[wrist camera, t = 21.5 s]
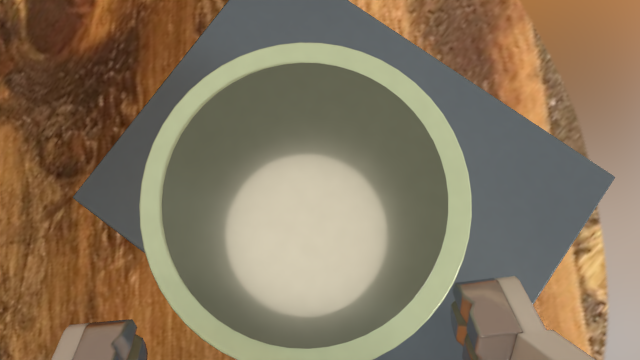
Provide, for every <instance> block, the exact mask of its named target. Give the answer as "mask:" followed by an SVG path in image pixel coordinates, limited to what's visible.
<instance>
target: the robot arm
mask: <svg viewBox="0 0 640 360" xmlns="http://www.w3.org/2000/svg"><path fill="white" fill-rule="evenodd" d="M453 295H454V298H455V301H454V302H453V303H452V304H451V311H450V314H451V324H452V328H453V332H454V335H455V338H456V341H457V342H459V343H460V344H461V345H462V346H463V353H462V358H463V360H595V359H594V358H593V357H591V356H590V355H588V354H587V353H585V352H584V351H582V350H581V349H580V348H578V347H577V346H575V345H574V344H572V343H571V342H570V341H568V340H567V339H565V338H564V337H562V336H561V335H559V334H558V333H557V332H555V331H554V330H546V328H545V326H544V325H543V323H542V321H541V319H540V317H539V315H538V314H537V312H536V310H535V308H534V306H533V304H532V303H531V301H530V299H529V297H528V295H527V294H526V292H525V290H524V288H523V286H522V284H521V283H520V281H519V279H518V278H517V277H515V276H511V277H502V278H495V279H494V278H490V279H482V280H474V281H466V282H458V283H455V284H454V286H453ZM136 329H137V326H136V325H135V323H134V321H133V320H119V321H107V322H95V323H85V324H75V325H69V326H68V327H67V328H66V329H65V330H64V332H63V334H62V337H61V339H60V341H59V343H58V346H57V348H56V350H55V352H54V355H53V357H52V359H51V360H147V348H146V344H145V342H144V340H143V338H141V337H139V336H138V335H136V334H135V333H136Z"/></svg>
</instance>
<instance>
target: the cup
mask: <svg viewBox="0 0 640 360" xmlns="http://www.w3.org/2000/svg"><path fill="white" fill-rule="evenodd" d="M139 210H140V229H141V235H142V240H143V246H144V250H145V254H146V257H147V260H148V263H149V266H150V269H151V272H152V274H153V276H154V278H155V280H156V282H157V284H158V286H159V289H160V290H161V292H162V293H163V295H164V297H165V298H166V300H167V301H168V303H169V304H170V306H171V307H172V309H173V310H174V311H175V312H176V313H177V315H178V316H179V317H180V318H181V319H182V320H183V322H184V323H185V324H186V325H187V326H188V327H189V328H190V329H191V330H193V331H194V332H195V333H196V334H197V335H198V336H199V337H200V338H202V339H203V340H204V341H206V342H207V343H209V344H210V345H212V346H213V347H214V348H216V349H217V350H219V351H220V352H222V353H224V354H226V355H228V356H230V357H232V358H234V359H236V360H374V359H376V358H378V357H380V356H381V355H383V354H385V353H387V352H389V351H390V350H392V349H394V348H396V347H397V346H398V345H400V344H401V343H402V342H404V341H405V340H406V339H408V338H409V337H410V336H412V335H413V334H414V333H415V332H416V331H417V330H418V329H419V328H420V327H421V326H422V325H423V324H424V323H425V322H426V321H428V320H429V319H430V317H431V316H432V315H433V314H434V312H435V311H436V310H437V308H438V307H439V306H440V304H441V303H442V302H443V301H444V299H445V297H446V296H447V294H448V292H449V290H450V289H451V287H452V285H453V283H454V282H455V280H456V277H457V275H458V272H459V270H460V267H461V265H462V262H463V260H464V256H465V252H466V249H467V245H468V241H469V236H470V227H471V219H472V194H471V187H470V180H469V173H468V170H467V166H466V163H465V159H464V155H463V152H462V150H461V147H460V145H459V143H458V140H457V138H456V136H455V133H454V132H453V130H452V128H451V126H450V125H449V123H448V121H447V120H446V118H445V116H444V115H443V113H442V112H441V111H440V109H439V108H438V107H437V106H436V104H435V103H434V102H433V100H432V99H431V98H430V97H429V96H428V95H427V94H426V93H425V92H424V91H423V90H422V89H421V88H420V87H419V86H418V85H417V84H416V83H415V82H413V81H412V80H411V79H410V78H408V77H407V76H406V75H404V74H403V73H402V72H400V71H399V70H397V69H396V68H394V67H392V66H391V65H389V64H387V63H385V62H384V61H382V60H380V59H378V58H375V57H373V56H371V55H368V54H366V53H363V52H361V51H357V50H354V49H350V48H347V47H343V46H338V45H331V44H324V43H290V44H280V45H276V46H271V47H267V48H262V49H259V50H256V51H253V52H250V53H248V54H245V55H242V56H240V57H238V58H236V59H234V60H232V61H230V62H228V63H226V64H224V65H222V66H220V67H219V68H217V69H216V70H214V71H213V72H211V73H210V74H209V75H207V76H206V77H204V78H203V79H202V80H201V81H200V82H198V83H197V84H196V85H195V86H194V87H193V88H192V89H190V90H189V91H188V92H187V93H186V95H185V96H184V97H183V98H182V99H181V100H180V101H179V103H178V104H177V105H176V106H175V107H174V109H173V110H172V111H171V113H170V114H169V116H168V117H167V119H166V120H165V122H164V123H163V125H162V127H161V129H160V131H159V133H158V134H157V136H156V138H155V140H154V142H153V145H152V148H151V150H150V153H149V156H148V159H147V161H146V165H145V169H144V174H143V178H142V183H141V192H140V204H139Z"/></svg>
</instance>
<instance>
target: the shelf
mask: <svg viewBox="0 0 640 360" xmlns="http://www.w3.org/2000/svg"><path fill="white" fill-rule="evenodd" d="M290 43H324V44H331V45H338V46H343V47H347V48H350V49H354V50H357V51H361V52H363V53H366V54H368V55H371V56H373V57H375V58H378V59H380V60H382V61H384V62H385V63H387V64H389V65H391V66H392V67H394V68H396V69H397V70H399V71H400V72H402V73H403V74H404V75H406V76H407V77H408V78H410V79H411V80H412V81H413V82H415V83H416V84H417V85H418V86H419V87H420V88H421V89H422V90H423V91H424V92H425V93H426V94H427V95H428V96H429V97H430V98H431V99H432V100H433V102H434V103H435V104H436V106H437V107H438V108H439V109H440V111H441V112H442V113H443V115H444V116H445V118H446V120H447V121H448V123H449V125H450V126H451V128H452V130H453V132H454V133H455V136H456V138H457V140H458V143H459V145H460V147H461V150H462V152H463V155H464V159H465V163H466V166H467V170H468V173H469V180H470V187H471V194H472V219H471V227H470V236H469V241H468V245H467V249H466V252H465V256H464V260H463V262H462V265H461V267H460V270H459V272H458V275H457V277H456V280H455V282H454V283H453V285H452V287H451V289H450V290H449V292H448V294H447V296H446V297H445V299H444V301H443V302H442V303H441V304H440V306H439V307H438V308H437V310H436V311H435V312H434V314H433V315H432V316H431V317H430V319H429V320H428V321H426V322H425V323H424V324H423V325H422V326H421V327H420V328H419V329H418V330H417V331H416V332H415V333H414V334H413V335H412V336H410V337H409V338H408V339H406V340H405V341H404V342H402V343H401V344H400V345H398V346H397V347H396V348H394V349H392V350H390V351H389V352H387V353H385V354H383V355H381V356H380V357H378V358H376V359H374V360H463V358H462V353H463V346H462V345H461V344H460V343H459V342H457V341H456V338H455V335H454V332H453V328H452V324H451V314H450V311H451V304H452V303H453V302H454V301H455V298H454V295H453V286H454V284H455V283H458V282H466V281H474V280H482V279H490V278H494V279H495V278H502V277H511V276H515V277H517V278H518V279H519V281H520V283H521V284H522V286H523V288H524V290H525V292H526V294H527V295H528V297H529V299H530V301H531V303H532V304H534V302H535V301H536V299H537V298H538V296H539V295H540V293H541V291H542V290H543V288H544V287H545V285H546V284H547V282H548V281H549V279H550V278H551V276H552V274H553V273H554V271H555V270H556V268H557V267H558V265H559V264H560V262H561V261H562V259H563V257H564V256H565V254H566V253H567V251H568V250H569V248H570V247H571V245H572V244H573V242H574V240H575V239H576V237H577V236H578V234H579V233H580V231H581V230H582V228H583V227H584V225H585V223H586V222H587V220H588V219H589V217H590V216H591V214H592V213H593V211H594V209H595V208H596V206H597V205H598V203H599V202H600V200H601V199H602V197H603V195H604V194H605V192H606V191H607V189H608V187H609V186H610V185H611V183H612V181H613V180H614V178H615V177H614V176H613V175H611V174H610V173H608V172H607V171H605V170H604V169H602V168H600V167H599V166H597V165H596V164H594V163H593V162H591V161H590V160H589V159H587V158H586V157H584V156H582V155H581V154H579V153H578V152H576V151H575V150H573V149H572V148H570V147H569V146H567V145H566V144H564V143H563V142H561V141H560V140H558V139H557V138H555V137H554V136H552V135H551V134H549V133H548V132H546V131H545V130H543V129H542V128H540V127H539V126H537V125H536V124H534V123H533V122H531V121H530V120H528V119H527V118H525V117H523V116H522V115H520V114H519V113H517V112H516V111H514V110H513V109H511V108H510V107H508V106H507V105H505V104H504V103H502V102H501V101H499V100H498V99H496V98H495V97H493V96H492V95H490V94H489V93H487V92H486V91H484V90H483V89H481V88H480V87H478V86H477V85H475V84H474V83H472V82H471V81H469V80H467V79H466V78H464V77H463V76H461V75H460V74H458V73H457V72H455V71H454V70H452V69H451V68H449V67H448V66H446V65H445V64H443V63H442V62H440V61H439V60H437V59H436V58H434V57H433V56H431V55H430V54H428V53H427V52H425V51H424V50H422V49H421V48H419V47H418V46H416V45H415V44H413V43H411V42H410V41H408V40H407V39H405V38H404V37H402V36H401V35H399V34H398V33H396V32H395V31H393V30H392V29H390V28H389V27H387V26H386V25H384V24H383V23H381V22H380V21H378V20H377V19H375V18H374V17H372V16H371V15H369V14H368V13H366V12H365V11H363V10H362V9H360V8H359V7H357V6H356V5H354V4H352V3H351V2H349V1H348V0H229V1H228V2H227V3H226V5H225V6H224V7H223V8H222V10H221V11H220V12H219V13H218V15H217V16H216V17H215V18H214V20H213V21H212V22H211V23H210V25H209V26H208V27H207V29H206V30H205V31H204V32H203V34H202V35H201V36H200V37H199V39H198V40H197V41H196V42H195V44H194V45H193V46H192V47H191V49H190V50H189V51H188V52H187V54H186V55H185V56H184V58H183V59H182V60H181V61H180V63H179V64H178V65H177V66H176V68H175V69H174V70H173V71H172V73H171V74H170V75H169V76H168V78H167V79H166V80H165V81H164V83H163V84H162V85H161V87H160V88H159V89H158V90H157V92H156V93H155V94H154V95H153V97H152V98H151V99H150V100H149V102H148V103H147V104H146V105H145V107H144V108H143V109H142V110H141V112H140V113H139V114H138V115H137V117H136V118H135V119H134V121H133V122H132V123H131V124H130V126H129V127H128V128H127V129H126V131H125V132H124V133H123V134H122V136H121V137H120V138H119V139H118V141H117V142H116V143H115V144H114V146H113V147H112V148H111V150H110V151H109V152H108V153H107V155H106V156H105V157H104V158H103V160H102V161H101V162H100V163H99V165H98V166H97V167H96V168H95V170H94V171H93V172H92V173H91V175H90V176H89V177H88V179H87V180H86V181H85V182H84V184H83V185H82V186H81V187H80V189H79V190H78V191H77V192H76V194H75V195H74V196H73V198H74V199H75V200H76V201H77V202H79V203H80V204H81V205H83V206H84V207H85V208H87V209H88V210H89V211H90V212H92V213H93V214H94V215H96V216H97V217H98V218H100V219H101V220H102V221H103V222H105V223H106V224H107V225H109V226H110V227H111V228H113V229H114V230H115V231H117V232H118V233H119V234H120V235H122V236H123V237H124V238H126V239H127V240H128V241H130V242H131V243H132V244H133V245H135V246H136V247H137V248H139V249H140V250H141V251H143V252H144V253H145V250H144V246H143V240H142V235H141V229H140V210H139V204H140V192H141V183H142V178H143V174H144V169H145V165H146V161H147V159H148V156H149V153H150V150H151V148H152V145H153V142H154V140H155V138H156V136H157V134H158V133H159V131H160V129H161V127H162V125H163V123H164V122H165V120H166V119H167V117H168V116H169V114H170V113H171V111H172V110H173V109H174V107H175V106H176V105H177V104H178V103H179V101H180V100H181V99H182V98H183V97H184V96H185V95H186V93H187V92H188V91H189V90H190V89H192V88H193V87H194V86H195V85H196V84H197V83H198V82H200V81H201V80H202V79H203V78H204V77H206V76H207V75H209V74H210V73H211V72H213V71H214V70H216V69H217V68H219V67H220V66H222V65H224V64H226V63H228V62H230V61H232V60H234V59H236V58H238V57H240V56H242V55H245V54H248V53H250V52H253V51H256V50H259V49H262V48H267V47H271V46H276V45H280V44H290Z"/></svg>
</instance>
